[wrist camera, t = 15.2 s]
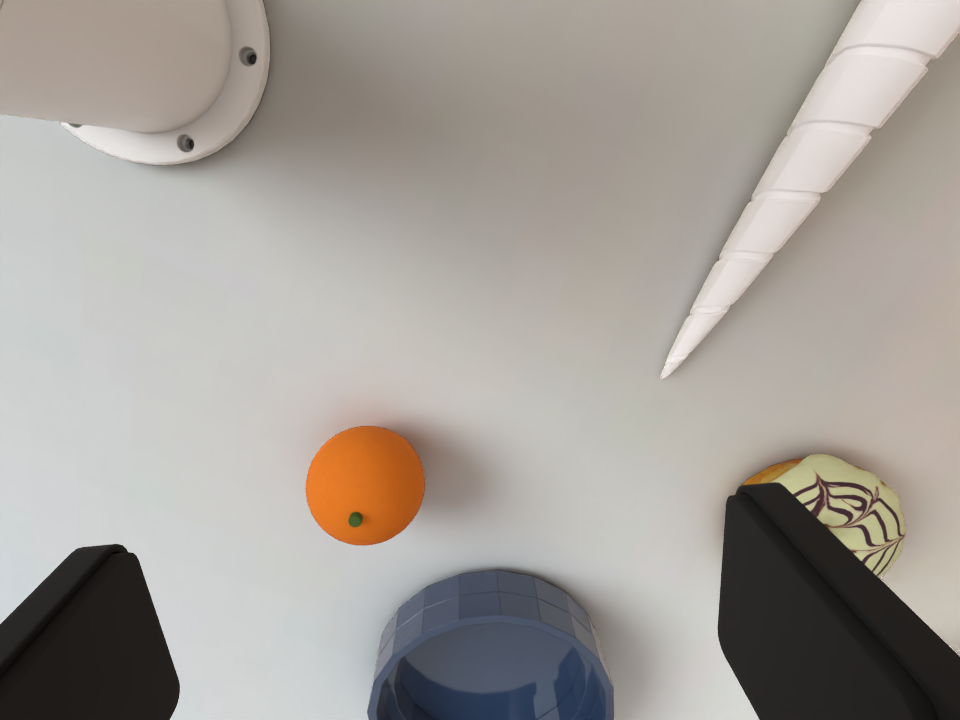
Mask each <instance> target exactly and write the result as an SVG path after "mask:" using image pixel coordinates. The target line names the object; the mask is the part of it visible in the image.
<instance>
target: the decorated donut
mask: <svg viewBox="0 0 960 720" xmlns="http://www.w3.org/2000/svg"><path fill="white" fill-rule="evenodd" d="M771 482H778V483H781V484H782V485H783V486H785V487H786V488H787V489H788V490H789V491H790V492H791V493H792V494H793V495H794V496H795V497H796V498H797V499H798V500H799V501H800V502H801V503H802V504H803V505H804V506H805V507H806V508H807V509H808V510H809V511H810V512H811V513H812V514H813V515H814V516H816V517H817V518H818V519H819V520H820V521H821V522H822V523H823V524H824V525H825V526H826V527H827V528H828V529H829V530H830V531H831V532H832V533H833V534H834V535H835V536H836V537H837V538H838V539H839V540H840V541H841V542H842V543H843V544H844V545H845V546H846V547H847V548H848V549H849V550H850V551H852V552H853V553H854V554H855V555H856V556H857V557H858V558H859V559H860V560H861V561H862V562H863V563H864V564H865V565H866V566H867V567H868V568H869V569H870V570H871V571H872V572H873V573H874V574H875V575H876V576H877V577H878V578H880V577H881V576H882V575H883V574H884V573H885V572H886V571H887V570H888V569H889V568H890V567H891V566H892V565H893V563H894V562H895V560H896V559H897V558H898V556H899V555H900V553H901V551H902V548H903V539H904V537H905V522H904V518H903V513H902V511H901V508H900V502H899V497H898V495H897V494H896V493H895V492H894V491H893V489H892V488H890V487H887V485H886V484H885V483H884V482H882V481H881V480H879V479H878V477H877V476H876V475H875V474H874V473H871V472H869V471H865V470H863V469H861V468H859V467H856V466H853V465H851V464H849V463H846V462H845V461H843V460H841V459H839V458H837V457H833V456H830V455H828V454H813V455H810V456H807V457H806V458H805V459H794V460H790V461H787V462H783V463H779V464H776V465H772V466H770V467H768V468H767V469H765V470H763V471H762V472H760V473H758V474H756V475H754V476H752V477H750V478H749V479H747V481H746V482H745V483H744V484H742V485H750V484H760V483H771Z"/></svg>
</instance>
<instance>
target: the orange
mask: <svg viewBox="0 0 960 720" xmlns="http://www.w3.org/2000/svg"><path fill="white" fill-rule="evenodd" d="M424 489H425V477H424V471H423V467H422V464H421V461H420V459H419V457H418V455H417V453H416V452H415V450H414V449H413V447H412V446H411V445H410V444H409V443H408V442H407V441H406V440H405V439H404V438H402V437H401V436H400V435H398V434H396V433H394V432H392V431H390V430H387V429H385V428H381V427H375V426H360V427H355V428H351V429H348V430H345V431H343V432H341V433H339V434H337V435H335V436H334V437H332V438H331V439H330V440H329V441H327V442H326V443H325V444H324V445H323V446H322V447H321V449H320V450H319V451H318V452H317V454H316V455H315V457H314V459H313V461H312V463H311V465H310V468H309V471H308V475H307V480H306V496H307V502H308V506H309V508H310V511H311V513H312V515H313V517H314V519H315V520H316V522H317V523H318V524H319V526H320V527H321V528H322V529H323V530H324V531H326V532H327V533H328V534H329V535H331V536H332V537H334V538H335V539H337V540H340V541H342V542H345V543H348V544H353V545H372V544H377V543H381V542H384V541H387V540H389V539H391V538H393V537H394V536H396V535H397V534H399V533H400V532H401V531H403V530H404V529H405V528H406V527H407V526H408V525H409V523H410V522H411V521H412V520H413V519H414V517H415V516H416V514H417V512H418V510H419V508H420V506H421V503H422V499H423V496H424Z"/></svg>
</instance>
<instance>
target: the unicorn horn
mask: <svg viewBox="0 0 960 720" xmlns="http://www.w3.org/2000/svg"><path fill="white" fill-rule="evenodd" d="M959 32H960V0H861V1H860V3H859V5H858V7H857V8H856V10H855V12H854V14H853V15H852V17H851V19H850V21H849V23H848V24H847V26H846V28H845V30H844V31H843V33H842V35H841V37H840V39H839V40H838V42H837V44H836V46H835V48H834V49H833V51H832V53H831V55H830V56H829V58H828V60H827V62H826V64H825V68H824V69H823V71H822V72H821V73H820V75H819V76H818V78H817V80H816V81H815V83H814V85H813V87H812V88H811V90H810V92H809V94H808V96H807V97H806V99H805V101H804V103H803V105H802V106H801V108H800V110H799V112H798V113H797V115H796V117H795V119H794V121H793V122H792V124H791V126H790V128H789V130H788V131H787V136H786V137H785V138H784V139H783V141H782V142H781V144H780V146H779V147H778V149H777V151H776V153H775V155H774V156H773V158H772V160H771V162H770V163H769V165H768V167H767V169H766V171H765V172H764V174H763V176H762V178H761V180H760V181H759V183H758V185H757V187H756V189H755V190H754V192H753V194H752V196H751V202H749V203H748V204H747V205H746V207H745V209H744V211H743V213H742V215H741V216H740V218H739V220H738V222H737V224H736V225H735V227H734V229H733V231H732V233H731V234H730V236H729V238H728V240H727V242H726V243H725V245H724V247H723V249H722V251H721V253H720V255H719V259H720V261H717V262H716V263H715V264H714V266H713V268H712V270H711V272H710V273H709V275H708V277H707V279H706V281H705V283H704V285H703V287H702V289H701V291H700V292H699V294H698V296H697V298H696V300H695V302H694V304H693V306H692V308H691V310H690V316H689V317H687V318H686V320H685V322H684V324H683V326H682V328H681V330H680V332H679V334H678V336H677V338H676V340H675V342H674V344H673V346H672V348H671V351H670V353H669V355H668V357H667V359H666V362H665V367H664V368H663V370H662V373H661V376H660V377H661V380H662V379H665V378H666V377H667V376H668V375H669V374H670V373H672V372H673V371H674V370H675V369H676V368H677V367H678V366H679V365H680V364H681V363H682V362H683V361H684V360H685V359H686V358H687V356H688V355H689V353H690V352H691V351H692V350H694V349H695V348H696V347H697V345H698V344H699V343H700V342H701V341H702V340H703V339H704V338H705V336H706V335H707V334H708V333H709V332H710V331H711V330H712V328H713V327H714V326H715V325H716V324H717V323H718V322H719V320H720V319H721V318H722V317H723V316H724V315H725V313H726V312H727V311H728V309H729V305H731V304H733V303H735V302H736V301H737V299H738V298H739V297H740V296H741V295H742V294H743V292H744V291H745V290H746V289H747V288H748V287H749V285H750V284H751V283H752V282H753V281H754V279H755V278H756V277H757V276H758V275H759V273H760V272H761V271H762V270H763V269H764V267H765V266H766V265H767V264H768V262H769V261H770V260H771V259H772V257H773V254H774V252H776V251H778V250H780V249H781V248H782V246H783V245H784V244H785V243H786V242H787V240H788V239H789V238H790V237H791V236H792V234H793V233H794V232H795V231H796V230H797V228H798V227H799V226H800V225H801V224H802V222H803V221H804V220H805V219H806V218H807V216H808V215H809V214H810V213H811V212H812V210H813V209H814V208H815V207H816V205H817V204H818V203H819V202H820V199H821V196H820V195H819V194H820V193H823V192H826V191H829V190H830V189H831V187H832V186H833V185H834V184H835V183H836V181H837V180H838V179H839V178H840V177H841V175H842V174H843V173H844V172H845V171H846V169H847V168H848V167H849V166H850V165H851V163H852V162H853V161H854V160H855V158H856V157H857V156H858V155H859V154H860V152H861V151H862V150H863V149H864V147H865V146H866V145H867V144H868V143H869V141H870V140H871V139H872V137H871V136H870V135H869V133H870V132H871V131H872V130H873V129H874V128H877V129H880V128H881V127H882V126H883V124H884V123H885V122H886V121H887V120H888V118H889V117H890V116H891V115H892V114H893V112H894V111H895V110H896V109H897V108H898V106H899V105H900V104H901V103H902V101H903V100H904V99H905V98H906V97H907V95H908V94H909V93H910V92H911V91H912V89H913V88H914V87H915V86H916V84H917V83H918V82H919V81H920V80H921V78H922V77H923V76H924V75H925V74H926V72H927V71H928V69H927V68H926V67H925V65H926V64H927V63H928V62H929V60H930V59H938V58H939V57H940V55H941V54H942V53H943V52H944V51H945V49H946V48H947V47H948V46H949V45H950V43H951V42H952V41H953V40H954V39H955V37H956V36H957V35H958V34H959Z"/></svg>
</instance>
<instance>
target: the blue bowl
mask: <svg viewBox="0 0 960 720" xmlns="http://www.w3.org/2000/svg"><path fill="white" fill-rule="evenodd" d="M367 713H368V718H369V720H614V692H613V685H612V682H611V678H610V675H609V671H608V668H607V664H606V661H605V658H604V654H603V651H602V647H601V644H600V640H599V638H598V636H597V633H596V631H595V629H594V627H593V625H592V623H591V621H590V618H589V616H588V614H587V613H586V612H585V611H584V610H583V609H582V608H581V607H580V606H579V605H578V604H577V603H576V602H575V601H574V600H573V599H572V598H571V597H570V596H569V595H568V594H567V593H565V592H564V591H563V590H561V589H559V588H557V587H555V586H552V585H550V584H548V583H546V582H544V581H542V580H540V579H538V578H536V577H533V576H529V575H523V574H517V573H511V572H505V571H499V570H497V571H486V572H476V573H466V574H459V575H456V576H454V577H451V578H448V579H446V580H443V581H440V582H438V583H435V584H433V585H430V586H427V587H426V588H424V589H423V590H422V591H420V592H419V593H418V594H416V595H415V596H414V597H413V598H411V599H410V600H409V601H407V602H406V603H405V604H403V605H402V606H401V607H400V608H399V609H398V610H397V612H396V613H395V615H394V616H393V618H392V619H391V621H390V622H389V624H388V625H387V627H386V629H385V630H384V632H383V633H382V636H381V641H380V646H379V651H378V656H377V660H376V666H375V672H374V677H373V683H372V688H371V694H370V700H369V705H368V711H367Z"/></svg>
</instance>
